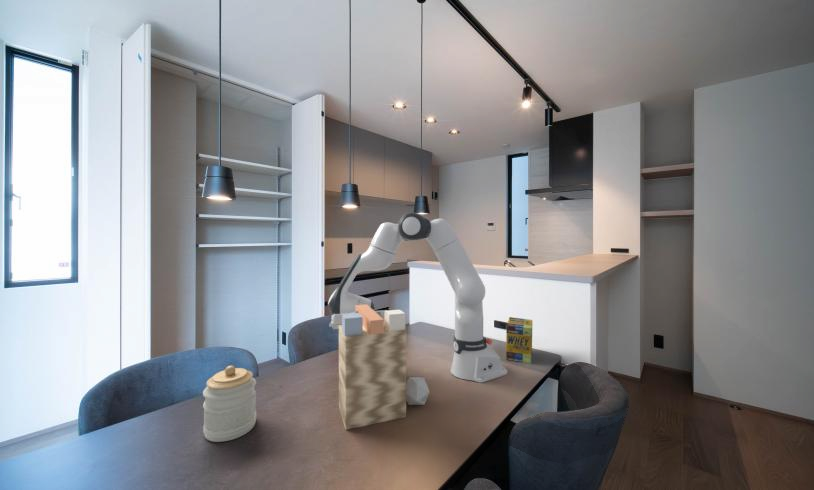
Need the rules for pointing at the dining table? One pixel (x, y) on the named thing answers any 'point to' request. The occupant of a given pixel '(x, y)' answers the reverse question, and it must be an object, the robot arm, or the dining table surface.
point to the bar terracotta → (370, 319)
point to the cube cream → (394, 320)
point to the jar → (229, 404)
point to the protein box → (519, 340)
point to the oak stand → (372, 377)
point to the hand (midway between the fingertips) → (364, 312)
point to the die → (416, 391)
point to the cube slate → (352, 324)
